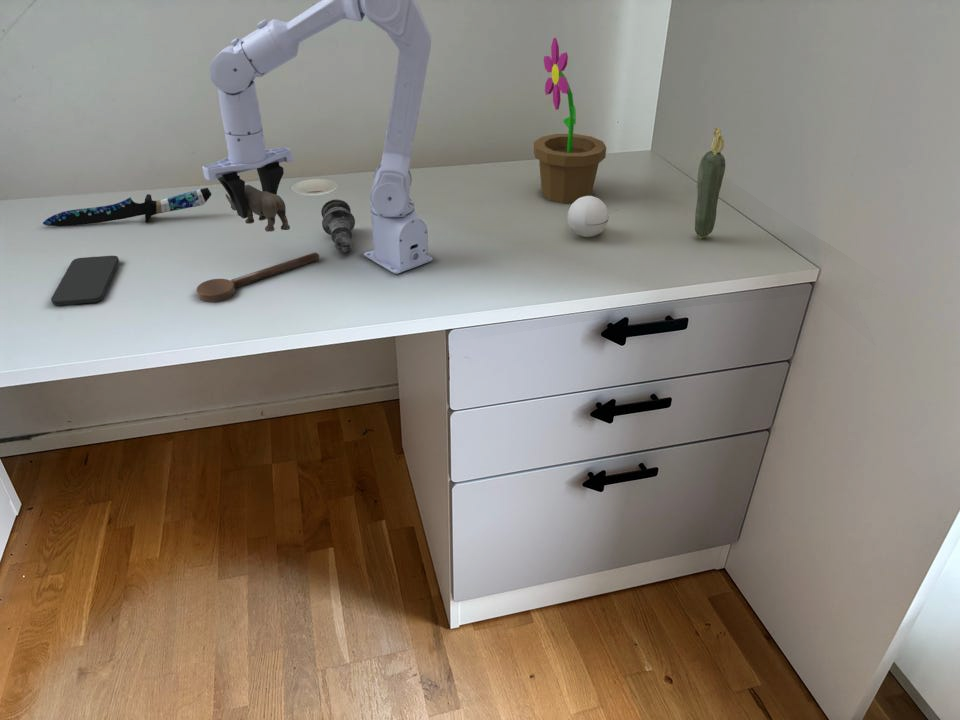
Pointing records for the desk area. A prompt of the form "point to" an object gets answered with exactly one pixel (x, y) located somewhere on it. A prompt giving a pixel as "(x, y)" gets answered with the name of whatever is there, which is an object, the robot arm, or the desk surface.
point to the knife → (129, 209)
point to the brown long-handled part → (246, 279)
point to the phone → (85, 280)
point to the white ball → (588, 216)
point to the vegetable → (709, 186)
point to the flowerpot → (566, 145)
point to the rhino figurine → (263, 207)
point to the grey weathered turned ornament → (338, 223)
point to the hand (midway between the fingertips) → (256, 212)
